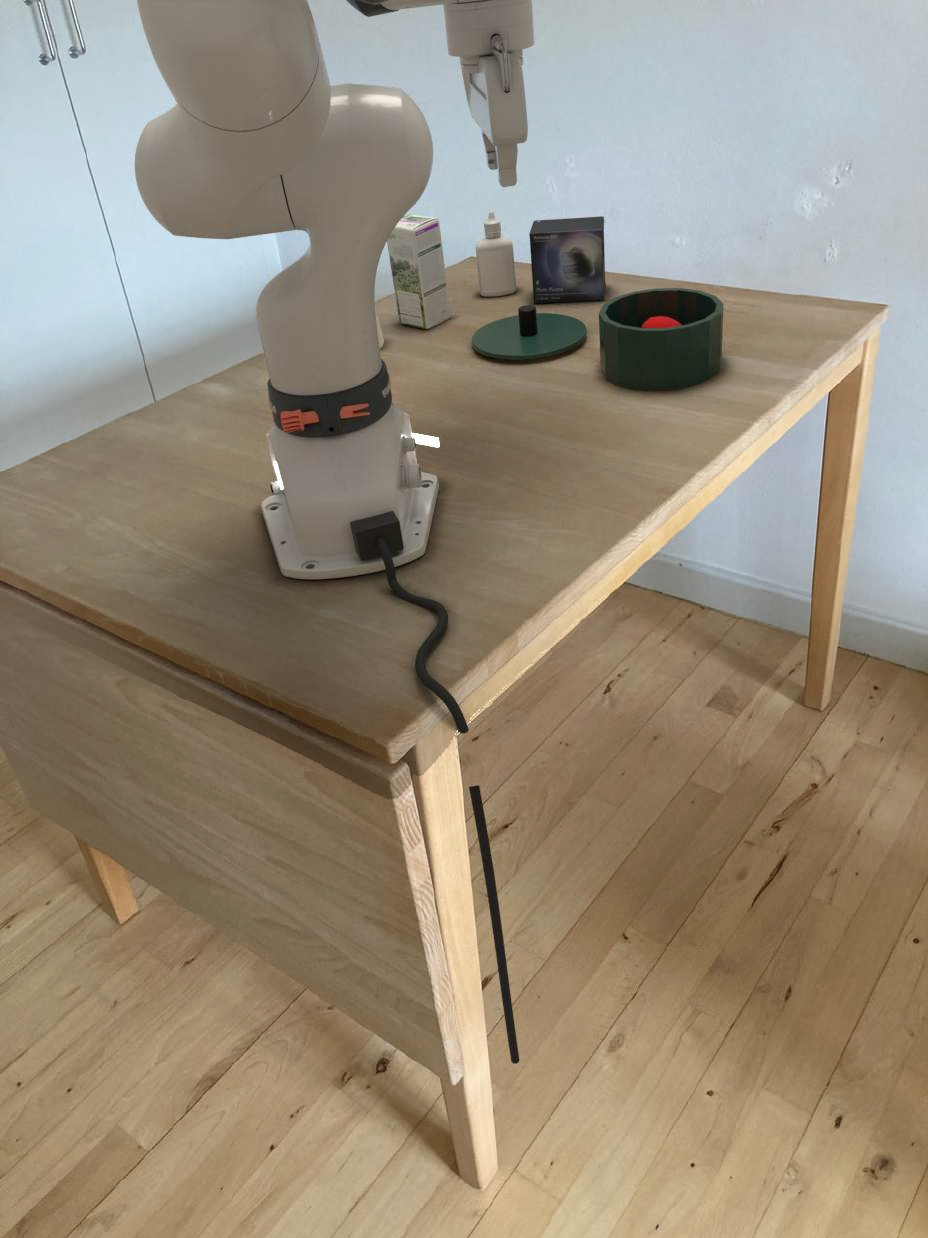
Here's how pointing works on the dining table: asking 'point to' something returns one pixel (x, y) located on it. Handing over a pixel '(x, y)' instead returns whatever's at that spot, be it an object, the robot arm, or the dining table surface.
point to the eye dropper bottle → (495, 261)
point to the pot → (661, 339)
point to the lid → (529, 335)
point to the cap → (660, 322)
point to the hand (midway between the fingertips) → (501, 176)
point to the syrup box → (419, 271)
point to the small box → (568, 259)
